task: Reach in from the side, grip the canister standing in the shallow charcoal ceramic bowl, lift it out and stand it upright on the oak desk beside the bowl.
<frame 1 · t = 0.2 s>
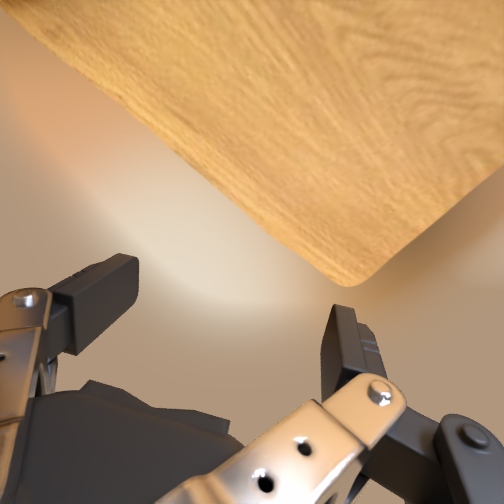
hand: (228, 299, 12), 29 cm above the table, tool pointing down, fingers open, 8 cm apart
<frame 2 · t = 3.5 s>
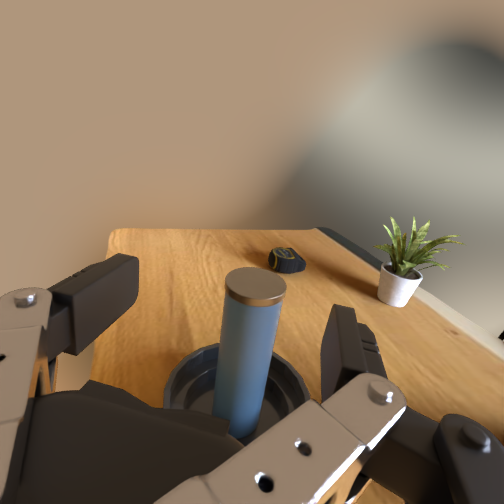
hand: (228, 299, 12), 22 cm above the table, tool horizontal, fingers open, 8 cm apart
bowl: (234, 419, 32), on the table
tape measure: (285, 268, 65), on the table
canister: (235, 416, 31), resting on bowl
house plant: (394, 304, 58), on the table
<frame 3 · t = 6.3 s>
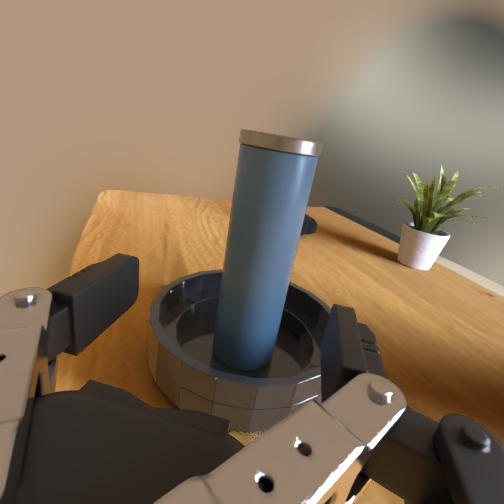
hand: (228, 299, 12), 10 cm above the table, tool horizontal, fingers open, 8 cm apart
bowl: (241, 354, 25), on the table
tape measure: (293, 232, 59), on the table
canister: (242, 349, 24), resting on bowl
house plant: (417, 267, 51), on the table
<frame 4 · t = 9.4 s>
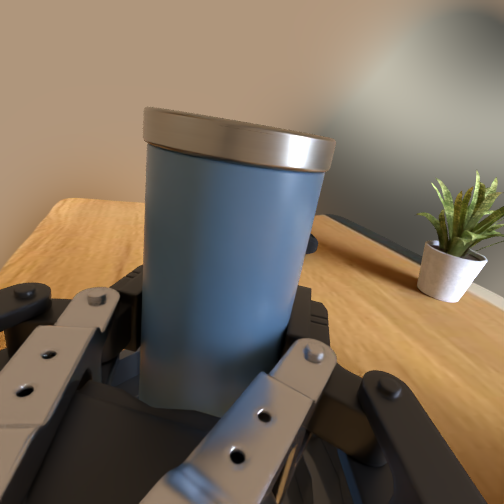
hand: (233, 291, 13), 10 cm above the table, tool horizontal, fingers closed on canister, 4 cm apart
tape measure: (289, 251, 48), on the table
canister: (191, 498, 14), point 1 cm above the table, touching bowl, gripper
house plant: (443, 298, 41), on the table
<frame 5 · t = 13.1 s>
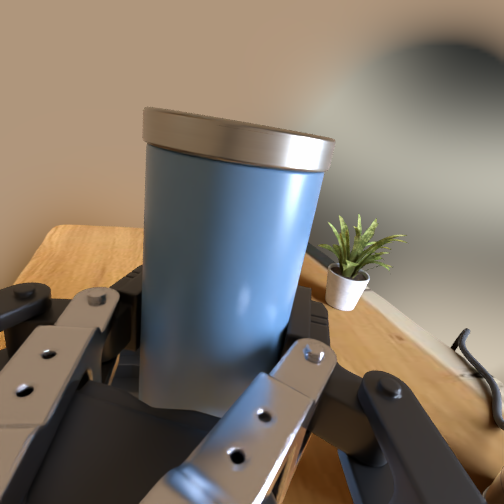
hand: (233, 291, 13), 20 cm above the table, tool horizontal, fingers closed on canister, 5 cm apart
bowl: (114, 426, 27), on the table
canister: (191, 498, 14), point 10 cm above the table, touching gripper
house plant: (342, 307, 54), on the table
when the fingers open (9 cm above the table, at t = 16.9 s): canister stays where it is, on the table.
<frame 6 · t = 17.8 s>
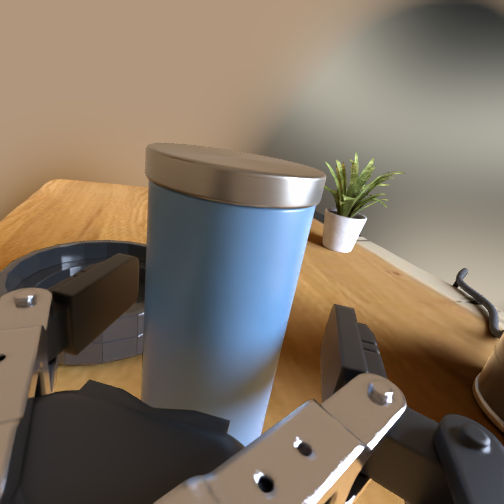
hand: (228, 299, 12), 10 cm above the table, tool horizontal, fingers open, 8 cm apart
bowl: (105, 311, 27), on the table
house plant: (339, 250, 54), on the table
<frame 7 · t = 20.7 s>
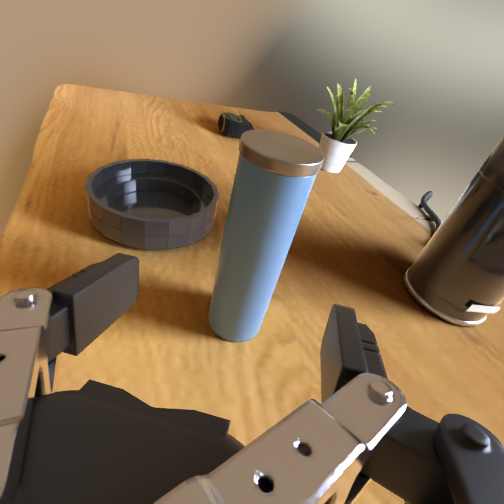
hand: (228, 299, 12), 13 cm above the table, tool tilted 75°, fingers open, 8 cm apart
bowl: (155, 215, 37), on the table
tape measure: (235, 135, 67), on the table
canister: (234, 319, 28), on the table
house plant: (329, 170, 63), on the table
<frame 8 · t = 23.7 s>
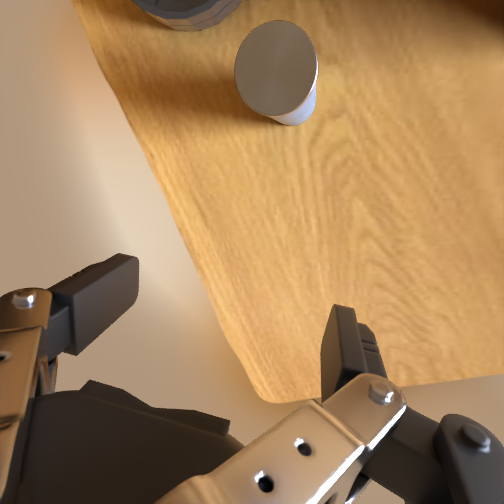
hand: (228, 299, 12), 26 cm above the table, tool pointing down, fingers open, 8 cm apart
canister: (292, 101, 33), on the table
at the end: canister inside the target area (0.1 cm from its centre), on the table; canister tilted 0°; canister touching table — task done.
